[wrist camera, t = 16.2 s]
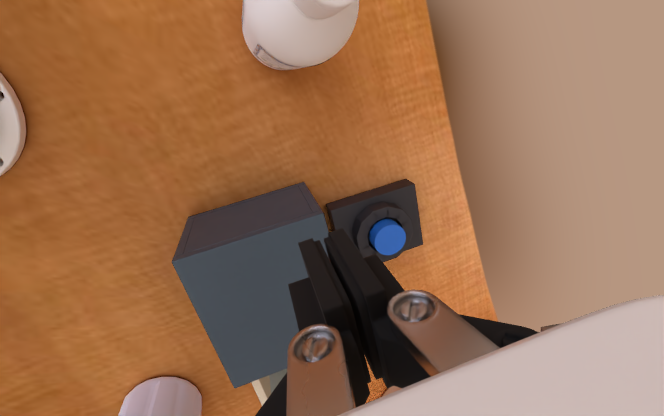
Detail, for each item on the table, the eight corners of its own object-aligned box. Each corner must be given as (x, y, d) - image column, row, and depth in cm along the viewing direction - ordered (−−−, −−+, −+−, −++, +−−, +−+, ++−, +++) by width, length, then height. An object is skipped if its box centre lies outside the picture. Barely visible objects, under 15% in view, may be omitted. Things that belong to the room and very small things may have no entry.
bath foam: (327, 56, 33) (432, 29, 15) (261, 81, 33) (288, 84, 15) (302, -25, 30) (394, -176, 12) (228, 1, 30) (212, -119, 12)
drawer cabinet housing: (333, 288, 43) (357, 341, 34) (235, 323, 41) (234, 388, 32) (304, 181, 37) (323, 213, 28) (188, 217, 35) (171, 261, 27)
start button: (372, 252, 38) (377, 259, 37) (366, 224, 37) (371, 231, 35) (401, 242, 39) (408, 249, 37) (396, 214, 37) (403, 220, 36)
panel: (340, 262, 42) (350, 279, 38) (325, 204, 39) (334, 217, 35) (414, 236, 43) (430, 251, 40) (406, 178, 40) (422, 188, 37)
